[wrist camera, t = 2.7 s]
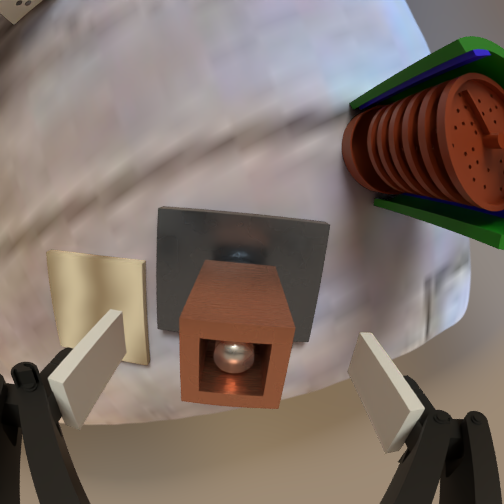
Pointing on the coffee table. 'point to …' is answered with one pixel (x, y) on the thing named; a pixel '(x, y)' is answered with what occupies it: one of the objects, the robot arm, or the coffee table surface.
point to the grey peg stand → (239, 251)
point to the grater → (16, 9)
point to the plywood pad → (99, 298)
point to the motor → (437, 140)
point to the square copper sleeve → (235, 335)
